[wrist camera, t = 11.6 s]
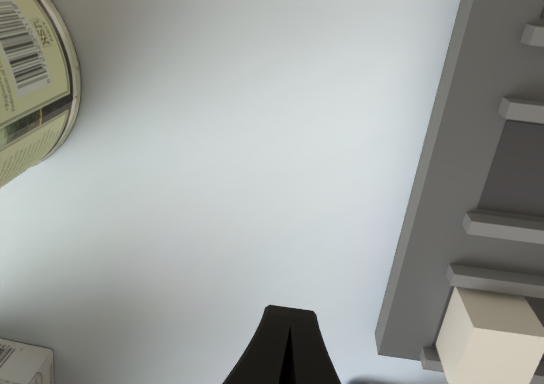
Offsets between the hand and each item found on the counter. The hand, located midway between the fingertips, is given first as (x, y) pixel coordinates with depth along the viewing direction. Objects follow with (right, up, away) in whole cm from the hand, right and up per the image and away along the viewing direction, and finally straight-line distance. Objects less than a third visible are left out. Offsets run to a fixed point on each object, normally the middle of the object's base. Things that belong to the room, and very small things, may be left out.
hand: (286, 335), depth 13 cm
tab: (+9, -2, +9) cm, 13 cm away
